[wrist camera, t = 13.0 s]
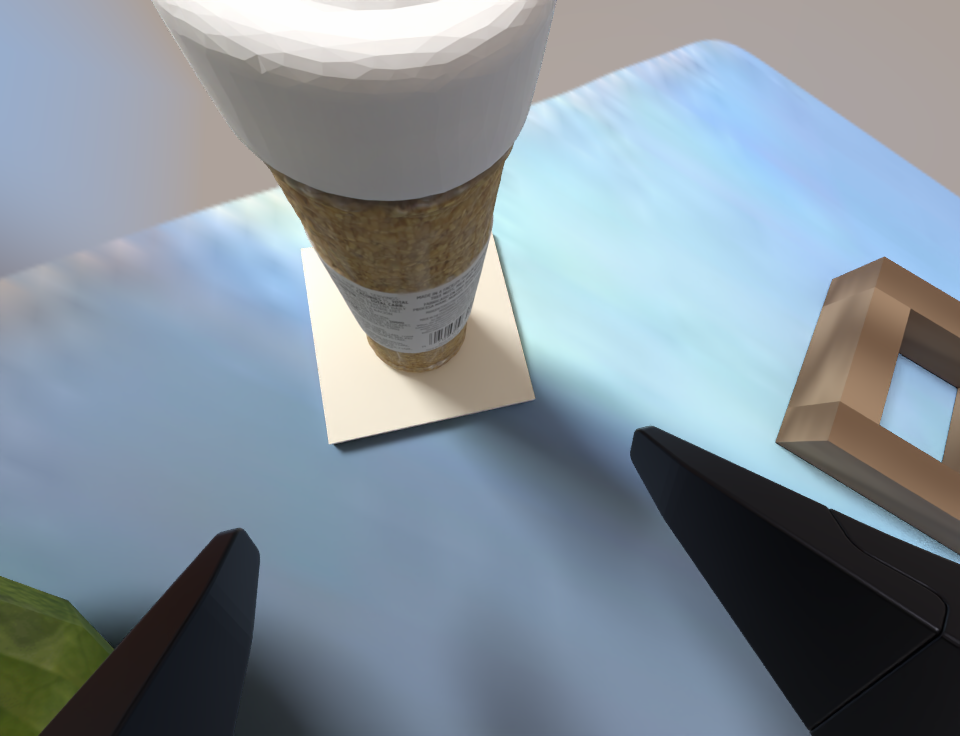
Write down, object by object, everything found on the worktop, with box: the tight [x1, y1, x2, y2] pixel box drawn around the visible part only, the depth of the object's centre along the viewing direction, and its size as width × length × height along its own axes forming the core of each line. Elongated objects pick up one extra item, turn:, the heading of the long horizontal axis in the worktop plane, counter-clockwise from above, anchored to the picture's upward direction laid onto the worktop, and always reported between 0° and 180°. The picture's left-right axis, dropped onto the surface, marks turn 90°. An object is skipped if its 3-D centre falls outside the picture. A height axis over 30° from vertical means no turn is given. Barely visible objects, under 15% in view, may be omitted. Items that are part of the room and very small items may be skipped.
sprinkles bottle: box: [151, 0, 557, 373], centre depth 10 cm, size 5×5×13 cm
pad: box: [301, 231, 535, 445], centre depth 17 cm, size 9×9×1 cm
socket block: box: [776, 257, 960, 554], centre depth 18 cm, size 11×11×2 cm
